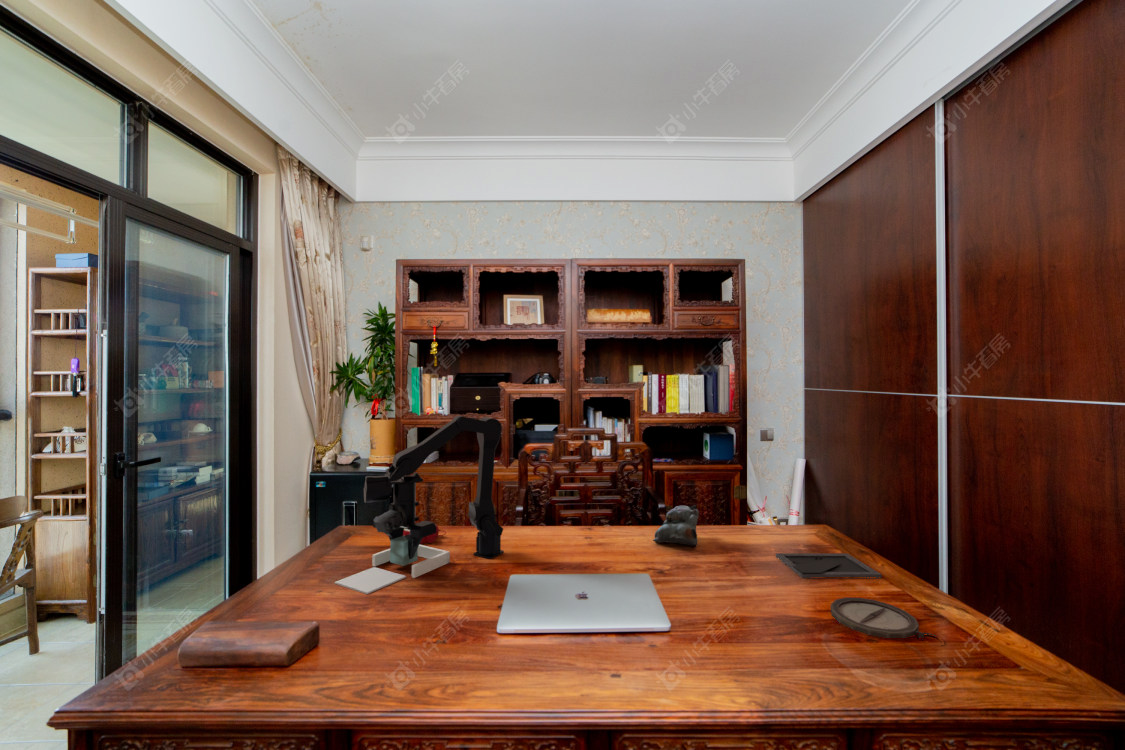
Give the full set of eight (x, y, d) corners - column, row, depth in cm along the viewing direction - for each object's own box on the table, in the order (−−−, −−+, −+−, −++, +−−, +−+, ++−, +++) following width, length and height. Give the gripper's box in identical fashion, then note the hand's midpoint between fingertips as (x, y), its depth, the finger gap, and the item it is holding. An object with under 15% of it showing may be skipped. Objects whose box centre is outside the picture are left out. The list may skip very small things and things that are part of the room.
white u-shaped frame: (449, 562, 146) (449, 551, 146) (414, 577, 135) (414, 566, 135) (408, 552, 154) (408, 541, 154) (372, 565, 143) (372, 554, 143)
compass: (813, 606, 121) (813, 597, 121) (878, 603, 123) (878, 594, 123) (875, 652, 101) (876, 642, 101) (952, 648, 103) (952, 638, 103)
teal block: (417, 560, 143) (417, 538, 143) (403, 565, 139) (403, 543, 139) (404, 556, 146) (404, 535, 146) (390, 562, 141) (390, 540, 141)
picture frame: (801, 580, 137) (881, 580, 137) (801, 572, 137) (881, 572, 137) (775, 558, 153) (847, 558, 153) (775, 551, 153) (847, 552, 153)
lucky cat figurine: (644, 541, 166) (652, 498, 172) (675, 552, 170) (681, 510, 176) (674, 540, 153) (682, 494, 159) (706, 552, 157) (712, 506, 163)
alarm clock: (399, 524, 171) (445, 513, 171) (403, 542, 171) (449, 532, 172) (390, 533, 160) (439, 522, 161) (395, 553, 160) (443, 542, 161)
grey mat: (405, 577, 135) (405, 576, 135) (367, 594, 124) (367, 592, 124) (374, 568, 141) (374, 566, 141) (334, 583, 131) (334, 582, 131)
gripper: (356, 500, 140) (356, 559, 140) (406, 510, 130) (405, 573, 130) (389, 492, 150) (389, 547, 150) (438, 501, 140) (437, 559, 140)
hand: (404, 556), depth 142 cm, fingers closed on teal block, 5 cm apart
